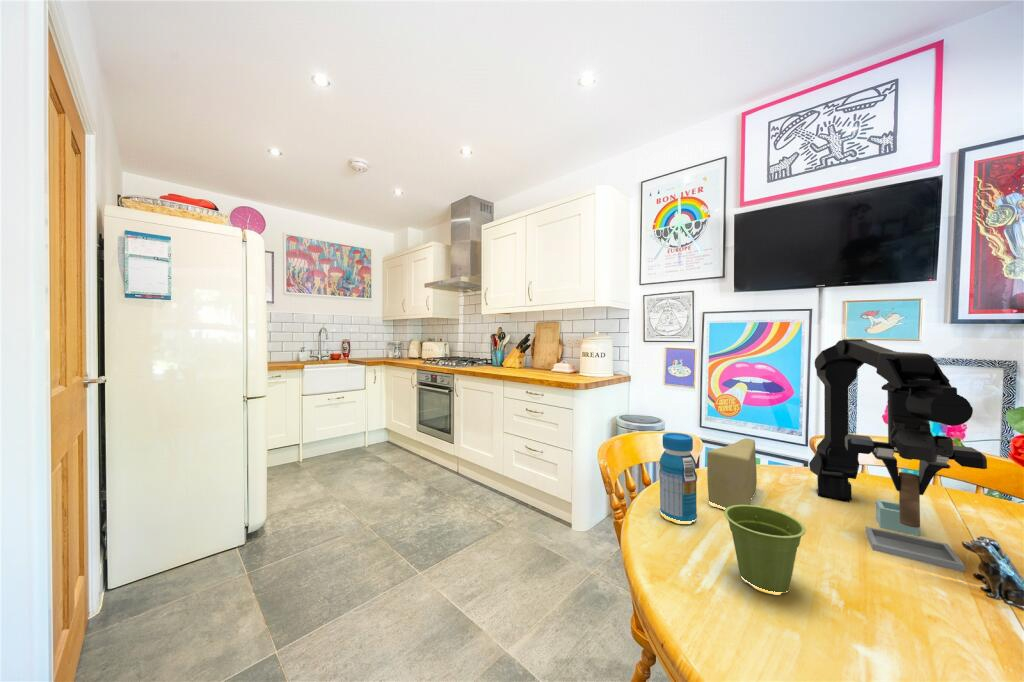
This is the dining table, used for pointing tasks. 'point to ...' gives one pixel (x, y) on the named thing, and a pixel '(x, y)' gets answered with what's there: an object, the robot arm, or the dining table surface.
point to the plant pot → (765, 545)
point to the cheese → (732, 474)
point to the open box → (892, 518)
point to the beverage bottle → (678, 478)
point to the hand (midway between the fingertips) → (909, 492)
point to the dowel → (909, 499)
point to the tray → (914, 548)
